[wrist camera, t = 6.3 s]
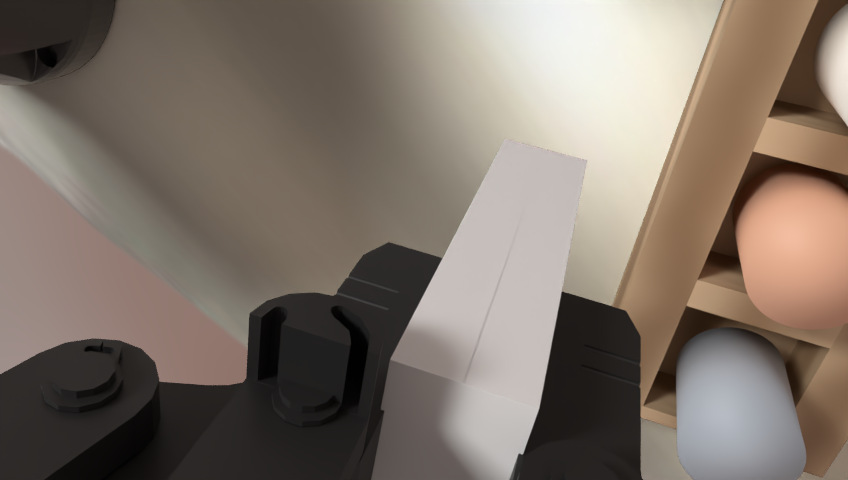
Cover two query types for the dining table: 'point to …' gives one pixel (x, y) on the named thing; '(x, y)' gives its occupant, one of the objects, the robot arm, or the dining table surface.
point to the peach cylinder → (795, 245)
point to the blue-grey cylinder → (736, 409)
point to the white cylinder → (834, 62)
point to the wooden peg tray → (713, 204)
